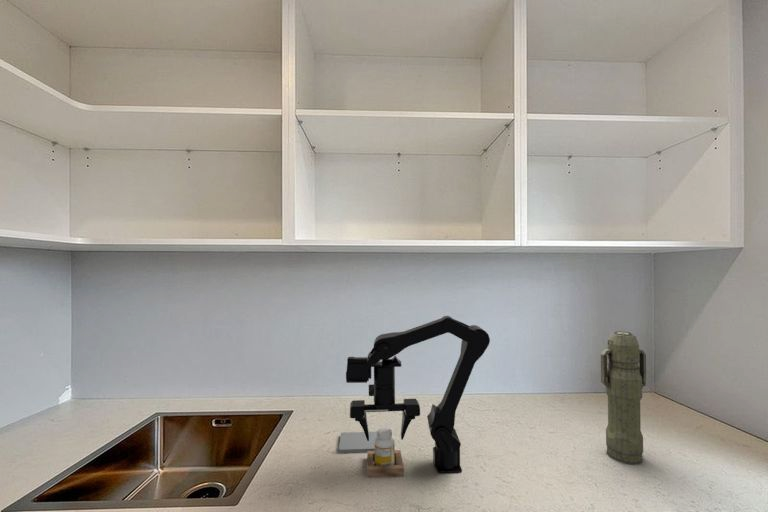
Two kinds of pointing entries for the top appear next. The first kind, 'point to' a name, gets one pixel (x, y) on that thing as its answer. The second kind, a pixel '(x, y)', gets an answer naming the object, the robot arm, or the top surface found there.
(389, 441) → the supplement bottle
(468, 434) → the top surface
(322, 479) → the top surface
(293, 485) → the top surface
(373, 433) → the mat
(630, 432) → the thermos
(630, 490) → the top surface
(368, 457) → the holder
